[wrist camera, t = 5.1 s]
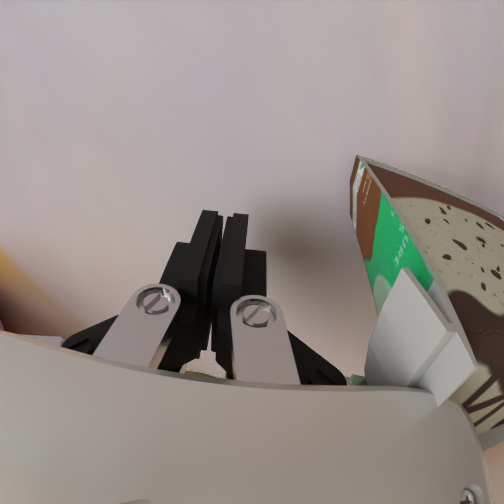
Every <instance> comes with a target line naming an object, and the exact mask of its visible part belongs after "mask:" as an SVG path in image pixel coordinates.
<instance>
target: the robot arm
mask: <svg viewBox="0 0 504 504" xmlns="http://www.w3.org/2000/svg"><path fill="white" fill-rule="evenodd" d="M248 216H249V215H247V214H238V213H234V215H233V217H229V216H228V217H227V221H226V225H225V230H224V234H223V239H222V229H223V216H220V215H218V211H208V210H203V211H202V213H201V216H200V218H199V221H198V223H197V226H196V228H195V231H194V234H193V236H192V239H191V241H190V243H183V242H177V243H176V245H175V247H174V249H173V252H172V254H171V256H170V259H169V261H168V263H167V266H166V268H165V270H164V273H163V275H162V277H161V280H160V282H159V284H150V285H146V286H143V287H142V288H140V289H138V290H137V291H136V292H135V293H134V294H133V295H132V297H131V298H130V300H129V301H128V303H127V304H126V306H125V307H124V308H123V310H122V311H121V313H120V314H119V315H117V316H114V317H112V318H110V319H108V320H105V321H103V322H101V323H99V324H96V325H94V326H92V327H89V328H87V329H85V330H83V331H80V332H78V333H76V334H74V335H72V336H70V337H69V338H67V339H66V340H63V338H62V337H56V336H37V335H22V334H14V333H11V332H6V331H1V330H0V504H495V501H494V495H493V489H492V484H491V478H490V474H489V470H488V466H487V462H486V459H485V455H484V451H483V448H482V445H481V442H480V439H479V436H478V434H477V431H476V429H475V427H474V424H473V422H472V420H471V418H470V416H469V415H468V413H467V411H466V410H465V409H464V408H463V406H462V405H461V404H460V403H458V402H457V401H456V400H454V399H452V398H450V397H449V398H448V399H447V400H446V401H445V402H444V403H443V404H442V405H441V406H440V407H438V406H437V403H436V400H435V397H434V395H433V394H432V393H430V392H429V391H427V390H424V389H420V388H413V387H402V386H368V384H367V382H366V380H365V377H363V376H358V375H353V374H352V376H351V377H345V376H343V374H342V373H341V372H340V371H339V370H338V369H337V368H336V367H334V366H333V365H332V364H330V363H329V362H328V361H327V360H325V359H324V358H323V357H321V356H320V355H319V354H317V353H316V352H315V351H313V350H312V349H311V348H310V347H308V346H307V345H306V344H304V343H303V342H302V341H301V340H299V339H298V338H297V337H295V336H294V335H293V334H292V333H290V332H289V331H288V330H287V329H286V325H285V321H284V317H283V313H282V311H281V308H280V306H279V305H278V304H277V303H276V302H274V301H273V300H271V299H269V298H267V297H266V251H258V250H248V249H245V246H246V236H247V226H248ZM211 323H212V336H211V351H213V352H216V362H217V363H218V364H219V365H220V366H221V367H222V368H223V369H224V370H225V371H226V373H225V379H221V378H213V377H205V376H197V375H190V374H184V373H185V369H186V363H188V362H190V361H191V360H193V359H199V357H200V352H201V350H205V351H206V350H207V346H208V340H209V334H210V329H211Z"/></svg>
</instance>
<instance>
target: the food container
mask: <svg viewBox="0 0 504 504" xmlns="http://www.w3.org/2000/svg"><path fill="white" fill-rule="evenodd" d="M350 215H351V218H352V221H353V225H354V228H355V231H356V234H357V238H358V241H359V245H360V248H361V252H362V255H363V259H364V262H365V266H366V270H367V273H368V277H369V281H370V285H371V289H372V293H373V297H374V301H375V305H376V310H377V314H378V320H377V323H376V326H375V328H374V331H373V334H372V337H371V339H370V342H369V346H368V352H367V358H366V363H365V369H364V371H365V380H366V382H367V384H368V386H402V387H413V388H420V389H424V390H427V391H429V392H430V393H432V394H433V395H434V397H435V400H436V403H437V406H438V407H440V406H441V405H442V404H443V403H444V402H445V401H446V400H447V399H448V398H449V397H450V398H452V399H454V400H456V401H457V402H458V403H460V404H461V405H462V406H463V408H464V409H465V410H466V411H467V413H468V415H469V416H470V418H471V420H472V422H473V424H474V427H475V429H476V431H477V434H478V436H479V439H480V442H481V445H482V448H483V451H486V450H488V449H490V448H493V447H495V446H496V445H499V444H500V443H503V442H504V218H503V217H502V216H501V215H500V214H498V213H496V212H494V211H492V210H490V209H488V208H486V207H484V206H482V205H480V204H478V203H476V202H474V201H472V200H470V199H468V198H466V197H463V196H461V195H459V194H457V193H455V192H452V191H450V190H448V189H446V188H443V187H441V186H439V185H436V184H434V183H431V182H429V181H427V180H424V179H422V178H419V177H417V176H414V175H411V174H409V173H406V172H404V171H401V170H398V169H396V168H393V167H390V166H387V165H385V164H382V163H379V162H376V161H373V160H370V159H367V158H364V157H361V156H358V155H356V159H355V163H354V167H353V171H352V175H351V178H350Z"/></svg>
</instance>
